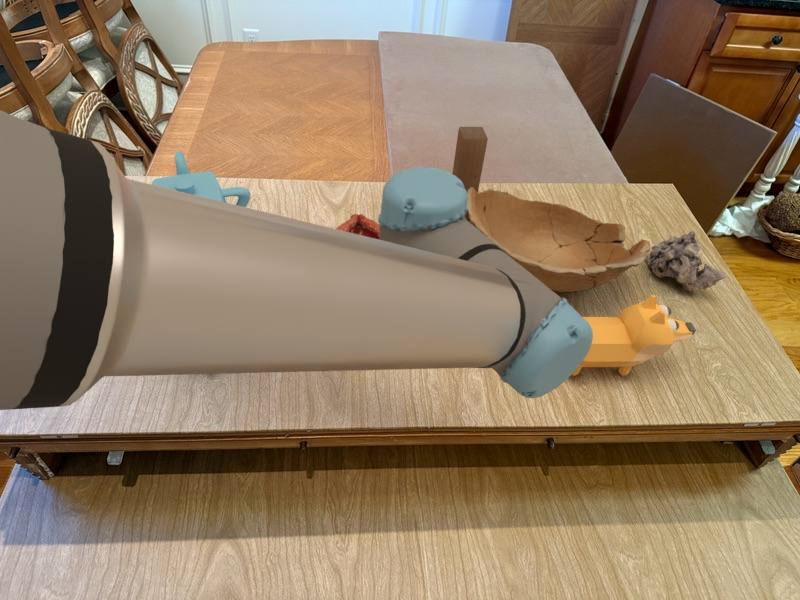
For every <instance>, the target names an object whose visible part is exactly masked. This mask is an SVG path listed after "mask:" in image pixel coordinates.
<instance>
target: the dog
mask: <svg viewBox="0 0 800 600" xmlns="http://www.w3.org/2000/svg"><path fill="white" fill-rule="evenodd" d="M671 314H672V309H671V308H670V307H669V306H667V305H664V304H658V303H657V297H656V295H655V294H651V295H650V296H649V297H648V298H646V299H645V300H643V301H640V302H638V303H635V304H632V305H629V306H627V307H625V308H624V309H623V310H622V311H621V312H620V313H619V315H618V316H582V317H583V318H584V319H585V320H586V321H587V322H588V323H589V324H590V326H591V328H592V332H593V340H592V344H591V347H590V349H589V351H588V353H587V355H586V357H585V358H584V360H583V361H582V363H581V364H580V365H579V366H578V368H577V369H576V370H575V371H574V372H573V373H572V374H571V375H570V376H573V377H575V376H578V375H579V374H580V372H581V370H582V368H618V370H617V371H618V374H620V375H621V376H627V375H629V374H630V372H631V370H632V368H633V367H634V366H640V365H642V364H644V363H645V362H647V361H649V360H650V359H651V358H653V357H654V356H664V355H665V354H666V353H667V352H668V351H669V350H671V348H672V347H673V344H674V343H678V342H681V341H687V340H689V339H692V337H693V335H694V334H695V333H696V332H697V331H696V328H695V326H694V324H693V322H692V321H691V322H690V321H682V320H679V319H676V318H673V317H671V316H670V315H671Z"/></svg>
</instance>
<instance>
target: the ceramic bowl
mask: <svg viewBox="0 0 800 600" xmlns="http://www.w3.org/2000/svg"><path fill="white" fill-rule="evenodd" d="M467 207H468V214H469V218H470V222H469V223H471V224H472V225H473V226H474V227H476V228H477V229H478V230H479V231H480V232H482V233H483V234H484V235H485V236H487V237H488V238H489V239H490V240H491V241H493V242H494V243H495V244H496V245H498V246H499V247H500V248H501V249H502V250H503V251H504V252H505V253H506V254H507V255H508V256H510V257H511V258H512V259H513V260H515V261H516V262H517V263H518V264H520V265H521V266H522V267H523V268H525V269H526V270H527V271H528V272H530V273H531V274H532V275H533V276H535V277H536V278H537V279H538V280H540V281H541V282H542V283H543V284H544V285H546V286H547V287H548V288H549V289H551V290H552V291H553V292H561V293H562V292H563V293H570V292H581V291H585V290H589V289H593V288H596V287H599V286H600V285H601V286H602V285H604V284H605V283H608V282H610V281H613V280H614V279H616V278H618V277H619V276H621V275H622V274H623V273H625V272H627V271H628V270H629V269H631V268H632V267H638V266H639V265H641V264H643V263H644V262H645V261H646V259H647V258H648V259H649V256H650V253H649V252H651V244H650V240H647V239H642V238H641V240H640V241H638V242H637V243H635V244H633V245H632V246H631V247H630V249H627V248H626V247H625V243H624V242H625V241H626V231H625V230H626V227H625V226H624V225H623V224H620V223H610V222H603V221H601V220H599V219H595V218H591V217H589V216H587V215H586V214H584V213H582V212H581V211H578V210H575V209H573V208H571V207H569V206H566V205H565V204H562V203H550V202H546V201H541V200H528V199H524V198H523V199H522V198H520V197H518V196H516V195H515V194H511V193H510V192H508V191H500V190H495V189H492V188H487V189H486V190H483V191H479V192H478V193H477V191H475V189H474V188H473V187H471V188H469V189H468V191H467Z"/></svg>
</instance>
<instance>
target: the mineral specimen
mask: <svg viewBox="0 0 800 600" xmlns="http://www.w3.org/2000/svg"><path fill="white" fill-rule="evenodd" d="M702 245H703V244H701V243H700V242H698V241H697V240H696V232H695V231H693V230H690V231H689V232H688V233H687V234H682V235H680V237H677V236H676V235H674V236H670V237H669V238H668V239H666V240H663V241H661V242H658V244H657V245H653V246H651V250H650V251H649V252H650V253H649V256H648V261H647V265H648V266H649V267H650V268H651V271H652V273H653V274H654V275H655V276H656V277H658V278H660V279H662V278H665V277H670V278H675V279H676V281H677V282H678V283H679V285H682V288H683V289H684V290H685V291H687V292H691V291H692V290H693V289H700V290H705V291H706V290H707V289H710V288H712V287H713V286H716V285H717V284H718V282H720V281H722V280H724V279H726V278H727V275H726V273H725V272H724V271H723V270H720V269H716V268H714V267H713V265H710V264H708V263H704V266H703V268H701V269H700V266H701V265H703V262H702V258H701V254H699V252H700V251H702Z"/></svg>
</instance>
